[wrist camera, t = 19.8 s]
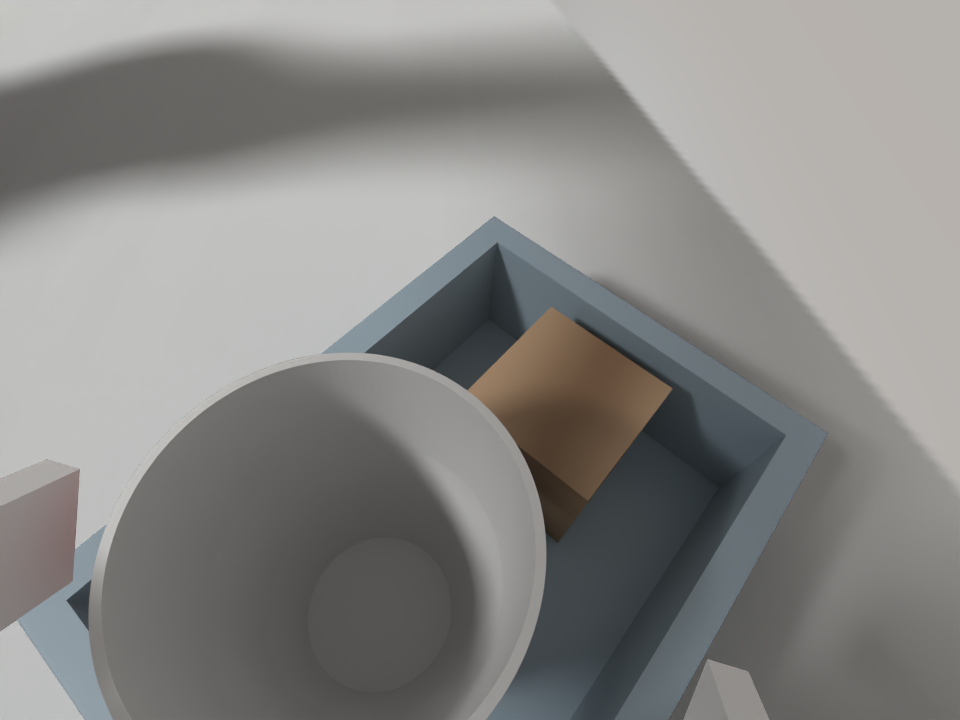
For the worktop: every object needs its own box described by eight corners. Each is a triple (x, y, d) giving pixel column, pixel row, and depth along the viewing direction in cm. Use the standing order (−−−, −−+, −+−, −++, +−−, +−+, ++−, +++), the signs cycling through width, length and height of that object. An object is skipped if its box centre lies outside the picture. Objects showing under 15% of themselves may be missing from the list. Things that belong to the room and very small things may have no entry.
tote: (122, 629, 19) (6, 604, 14) (485, 305, 27) (494, 216, 22) (419, 1022, 14) (405, 1192, 9) (744, 491, 22) (828, 433, 17)
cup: (379, 453, 22) (337, 293, 13) (547, 593, 19) (627, 508, 11) (205, 630, 18) (-8, 568, 10) (384, 829, 16) (312, 983, 7)
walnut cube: (456, 457, 22) (458, 398, 17) (532, 376, 24) (551, 306, 20) (557, 542, 20) (588, 500, 16) (629, 447, 22) (672, 388, 18)
